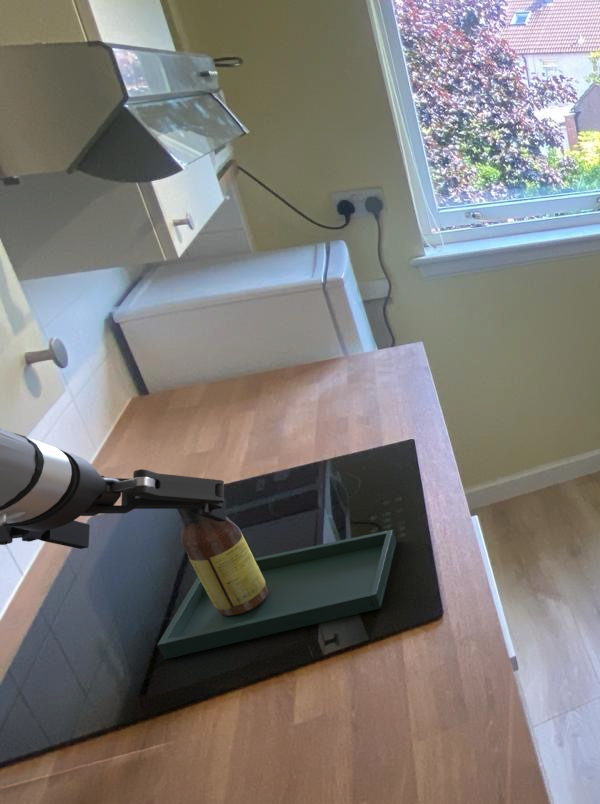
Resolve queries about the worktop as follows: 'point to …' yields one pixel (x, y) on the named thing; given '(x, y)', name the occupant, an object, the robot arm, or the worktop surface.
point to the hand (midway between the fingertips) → (155, 523)
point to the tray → (290, 594)
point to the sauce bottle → (223, 563)
